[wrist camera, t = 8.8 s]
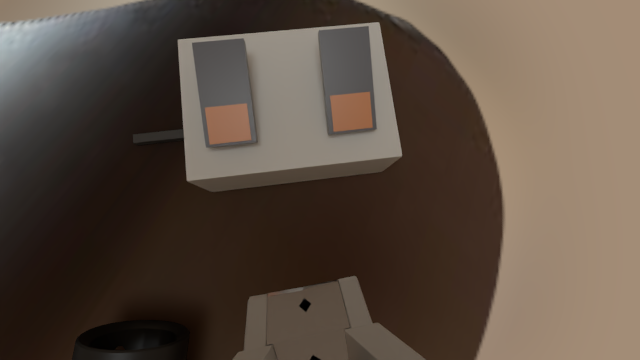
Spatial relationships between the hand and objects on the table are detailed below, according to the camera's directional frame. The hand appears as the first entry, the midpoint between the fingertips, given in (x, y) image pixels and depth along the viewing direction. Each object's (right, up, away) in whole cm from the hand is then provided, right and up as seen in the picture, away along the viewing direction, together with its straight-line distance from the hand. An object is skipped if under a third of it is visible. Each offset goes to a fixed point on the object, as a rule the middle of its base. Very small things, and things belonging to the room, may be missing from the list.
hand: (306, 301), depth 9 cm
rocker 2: (+3, +12, +21) cm, 25 cm away
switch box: (-7, +10, +29) cm, 32 cm away
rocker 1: (-8, +11, +21) cm, 25 cm away
